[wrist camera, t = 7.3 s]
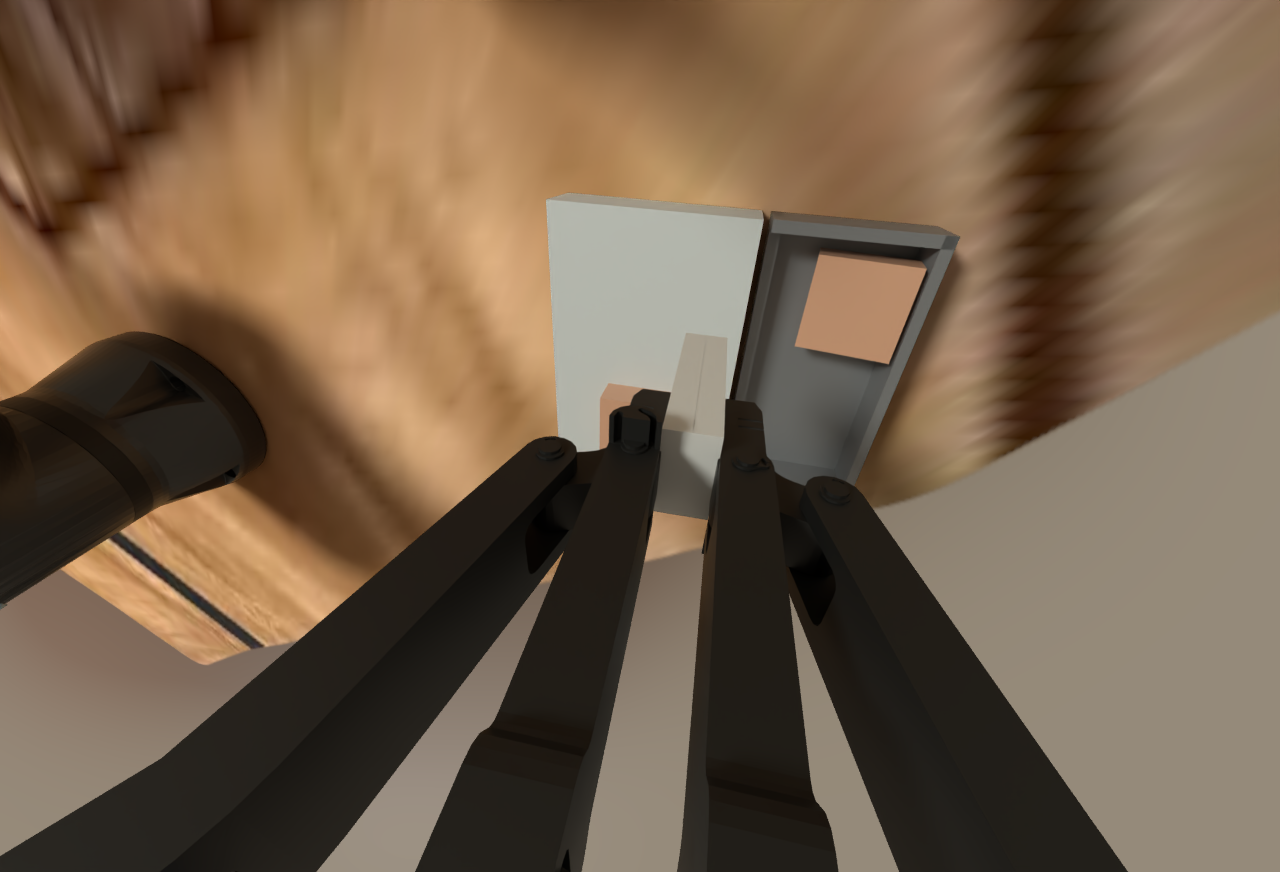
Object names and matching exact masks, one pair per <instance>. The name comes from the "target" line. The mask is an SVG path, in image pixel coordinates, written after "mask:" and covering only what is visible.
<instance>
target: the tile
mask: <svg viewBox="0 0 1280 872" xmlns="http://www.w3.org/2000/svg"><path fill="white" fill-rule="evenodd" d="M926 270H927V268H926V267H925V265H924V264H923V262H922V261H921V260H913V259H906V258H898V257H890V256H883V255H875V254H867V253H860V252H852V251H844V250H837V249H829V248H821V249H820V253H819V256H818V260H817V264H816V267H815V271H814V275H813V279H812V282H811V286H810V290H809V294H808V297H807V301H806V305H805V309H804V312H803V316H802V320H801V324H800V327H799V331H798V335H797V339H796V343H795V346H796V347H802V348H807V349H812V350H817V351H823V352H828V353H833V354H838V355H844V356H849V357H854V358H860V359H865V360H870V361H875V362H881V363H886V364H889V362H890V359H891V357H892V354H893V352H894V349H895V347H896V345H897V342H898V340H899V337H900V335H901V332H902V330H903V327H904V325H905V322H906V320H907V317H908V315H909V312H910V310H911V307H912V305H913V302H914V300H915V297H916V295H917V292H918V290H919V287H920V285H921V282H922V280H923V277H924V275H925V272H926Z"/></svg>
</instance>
